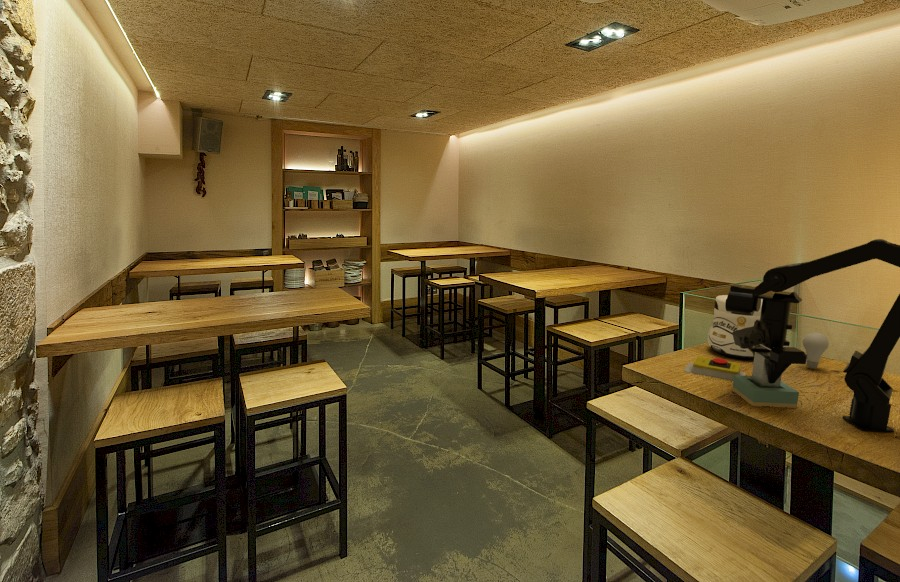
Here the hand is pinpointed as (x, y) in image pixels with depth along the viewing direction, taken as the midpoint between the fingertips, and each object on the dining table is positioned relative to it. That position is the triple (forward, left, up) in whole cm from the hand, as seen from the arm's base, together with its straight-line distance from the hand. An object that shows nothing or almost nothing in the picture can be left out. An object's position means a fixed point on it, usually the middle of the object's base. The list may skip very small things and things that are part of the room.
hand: (765, 379), depth 119 cm
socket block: (0, 0, -5) cm, 5 cm away
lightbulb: (+25, -27, -5) cm, 37 cm away
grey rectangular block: (0, 0, -2) cm, 2 cm away
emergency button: (+18, +4, -6) cm, 20 cm away
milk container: (+38, -12, -5) cm, 40 cm away
